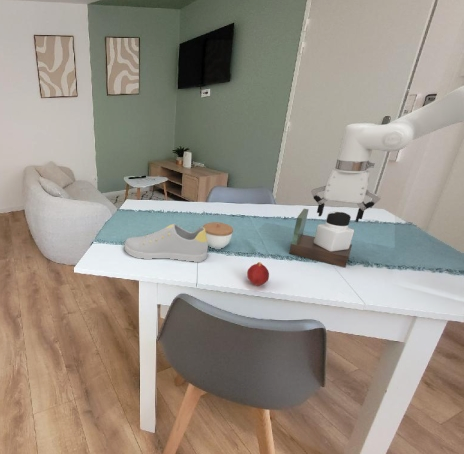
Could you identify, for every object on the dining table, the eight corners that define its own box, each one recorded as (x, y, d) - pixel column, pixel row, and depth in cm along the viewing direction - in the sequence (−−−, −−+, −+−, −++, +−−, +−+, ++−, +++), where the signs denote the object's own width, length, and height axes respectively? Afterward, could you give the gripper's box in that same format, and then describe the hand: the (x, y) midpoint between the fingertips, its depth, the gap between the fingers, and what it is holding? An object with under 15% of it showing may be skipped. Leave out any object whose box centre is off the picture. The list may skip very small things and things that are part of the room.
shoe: (206, 266, 99) (209, 234, 94) (121, 256, 108) (121, 226, 104) (206, 252, 108) (209, 222, 103) (128, 244, 117) (128, 216, 113)
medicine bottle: (349, 249, 97) (359, 215, 92) (330, 252, 96) (340, 218, 91) (330, 240, 103) (339, 208, 99) (312, 242, 102) (320, 211, 98)
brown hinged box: (348, 254, 101) (360, 217, 96) (345, 267, 94) (357, 228, 88) (295, 242, 111) (303, 208, 106) (289, 253, 104) (297, 217, 99)
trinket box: (203, 238, 119) (205, 217, 116) (231, 242, 115) (234, 220, 111) (199, 249, 110) (201, 227, 107) (229, 254, 106) (232, 230, 102)
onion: (250, 277, 92) (254, 255, 89) (269, 284, 88) (274, 261, 85) (242, 285, 88) (245, 262, 85) (262, 293, 84) (266, 269, 81)
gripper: (390, 165, 86) (373, 219, 92) (319, 161, 97) (308, 210, 104) (389, 170, 81) (372, 227, 87) (315, 166, 92) (304, 216, 99)
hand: (338, 217), depth 95 cm, fingers open, 9 cm apart
